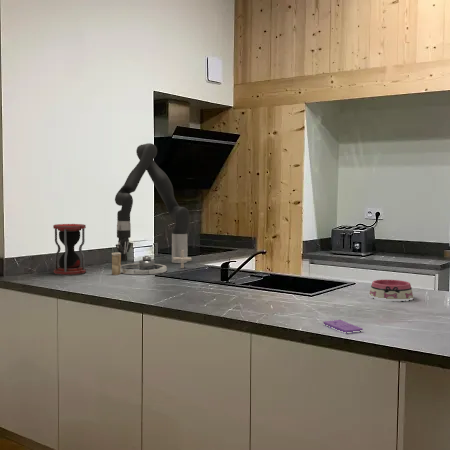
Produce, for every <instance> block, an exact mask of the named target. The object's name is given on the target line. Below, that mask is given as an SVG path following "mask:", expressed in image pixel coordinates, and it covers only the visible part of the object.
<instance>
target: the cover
mask: <svg viewBox="0 0 450 450" xmlns="http://www.w3.org/2000/svg"><path fill="white" fill-rule="evenodd" d="M138 264H139V268H138V270H152V269H155V268H154V264H155V260H152V257H151V256H148V255H145V256H143V257H142V259H141V260H139V261H138Z"/></svg>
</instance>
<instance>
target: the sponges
mask: <svg viewBox="0 0 450 450" xmlns="http://www.w3.org/2000/svg"><path fill="white" fill-rule="evenodd" d="M322 322H323V324H325V325H328V326H330V327H333V328H335V329H337V330H340V331H343V332H346V333H347V332H353V331H360V330H363V331H364V329H363V327H360V326H357V325H354V324H352V323H349V322H347V321H344V320H341V319H336V320H335V319H334V320H325V321H322ZM337 330H336V331H337Z"/></svg>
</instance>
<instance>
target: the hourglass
mask: <svg viewBox="0 0 450 450" xmlns="http://www.w3.org/2000/svg"><path fill="white" fill-rule="evenodd" d="M52 226H53V227H52V228H53V229H54V242H55V245H56V247H57V251H56V253H55V255H54V269H53V274H54V273H55V274H54V275H59V274H61V276H77V275H83V274H86V271H87V270H86V268H85V266H86V265H85V262H86V261H85V254H84V252H83V249H82V248H83V246H84V245H85V240H86V239H85V229H86V228H87V227H86V224H82V223H60V224H57V223H55V224H53V225H52ZM81 231H82V232H81ZM81 237H82V238H81ZM58 239H59V241H60V242H61V244H62V245H63V246H64V252H63V253H62V254H61V255H60V257H59V259H58V256H59V254H60V252H61V245H60V244H59V242H58ZM80 239H81V243H80V245H79V246H78V247H79V248H78V251H79V253H80V254H81V257H82V259H81V258H80V256H79V255H78V254H77V252H76V251H75V246H76V245H77V244H78V242H79V241H80ZM58 260H59V261H58ZM81 261H82V264H81ZM58 265H59V267H58ZM81 265H82V266H81Z"/></svg>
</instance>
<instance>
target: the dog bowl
mask: <svg viewBox="0 0 450 450" xmlns="http://www.w3.org/2000/svg"><path fill="white" fill-rule="evenodd" d="M369 294H370V295H371V296H374V297H378V298H386V299H410V298H414V294H413V287H412V285H411V282H409V281H406V280H399V279H376V280H373V281H372V283H371V286H370V289H369V293H368V295H369Z"/></svg>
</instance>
